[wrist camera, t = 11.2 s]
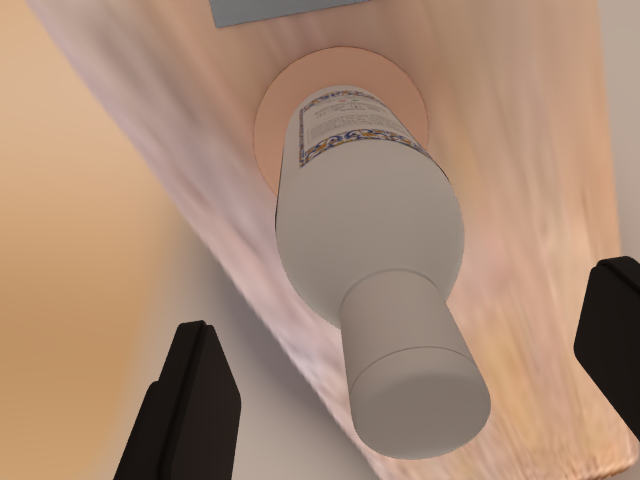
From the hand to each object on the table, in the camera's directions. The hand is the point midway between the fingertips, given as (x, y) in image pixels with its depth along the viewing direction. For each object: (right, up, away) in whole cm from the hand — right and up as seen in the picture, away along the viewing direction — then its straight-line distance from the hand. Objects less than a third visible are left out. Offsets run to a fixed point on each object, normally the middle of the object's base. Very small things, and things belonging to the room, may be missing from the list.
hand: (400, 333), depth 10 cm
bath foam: (-1, +9, +16) cm, 18 cm away
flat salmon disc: (-1, +9, +16) cm, 18 cm away
